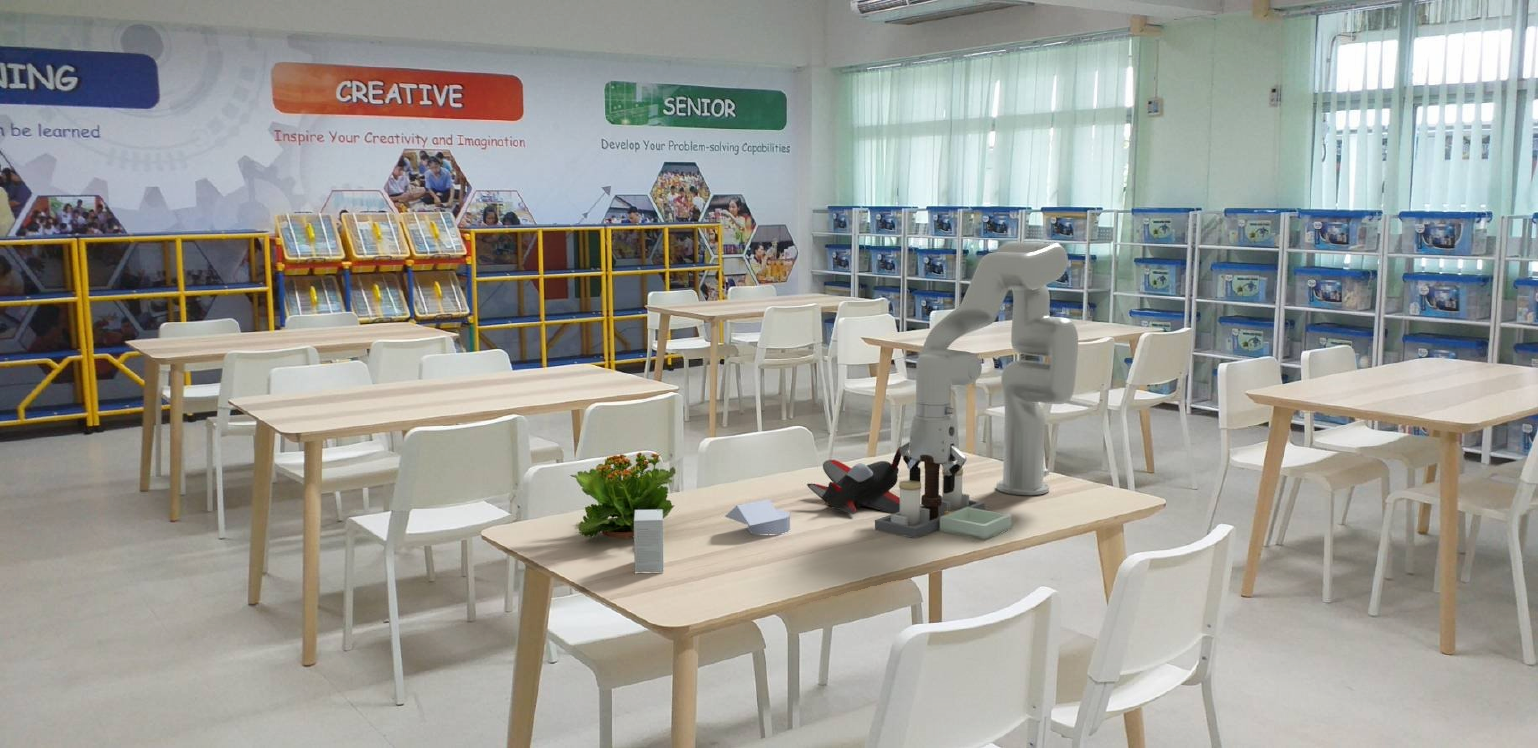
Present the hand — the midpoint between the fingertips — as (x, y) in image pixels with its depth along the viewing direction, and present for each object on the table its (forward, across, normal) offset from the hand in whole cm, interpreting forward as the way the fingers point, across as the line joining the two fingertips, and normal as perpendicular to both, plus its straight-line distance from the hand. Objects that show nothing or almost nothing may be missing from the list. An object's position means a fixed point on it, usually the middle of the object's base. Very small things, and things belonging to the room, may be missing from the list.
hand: (931, 488), depth 258 cm
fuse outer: (+7, 0, +8) cm, 11 cm away
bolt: (+7, 0, 0) cm, 7 cm away
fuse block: (+7, 0, 0) cm, 7 cm away
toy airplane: (+7, +20, -1) cm, 21 cm away
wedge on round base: (+7, +23, +30) cm, 39 cm away
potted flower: (+7, +45, +50) cm, 67 cm away
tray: (+7, -12, 0) cm, 14 cm away
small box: (+7, +23, +64) cm, 68 cm away
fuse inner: (+7, 0, -8) cm, 11 cm away
